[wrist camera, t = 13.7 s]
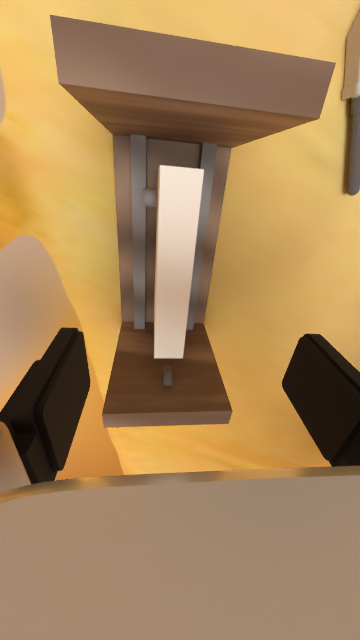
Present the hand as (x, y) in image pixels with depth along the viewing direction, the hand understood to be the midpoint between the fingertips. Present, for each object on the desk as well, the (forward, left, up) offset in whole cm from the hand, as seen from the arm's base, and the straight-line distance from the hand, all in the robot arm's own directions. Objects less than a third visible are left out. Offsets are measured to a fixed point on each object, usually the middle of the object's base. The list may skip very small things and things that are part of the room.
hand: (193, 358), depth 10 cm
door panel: (0, 0, -17) cm, 17 cm away
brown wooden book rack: (0, 0, -19) cm, 19 cm away
